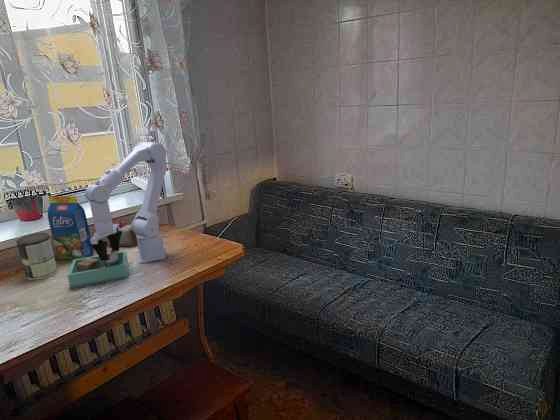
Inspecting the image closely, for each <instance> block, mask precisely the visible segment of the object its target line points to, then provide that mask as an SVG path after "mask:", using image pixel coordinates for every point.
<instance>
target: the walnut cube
mask: <svg viewBox="0 0 560 420" xmlns="http://www.w3.org/2000/svg"><path fill="white" fill-rule="evenodd" d="M77 268H78V272H83V271H88V270H94V269H99V268H100V263H99V259H91V258H87V259H85V260H83V261H81V262H79V263H77Z"/></svg>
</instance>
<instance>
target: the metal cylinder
mask: <svg viewBox="0 0 560 420" xmlns="http://www.w3.org/2000/svg"><path fill="white" fill-rule="evenodd" d="M118 252H119V251H118ZM118 252H117V250H115V249H112V248H111V249H107V260H106V261H104V266H105V267H110V266H115V265H120V262H119V257H118Z"/></svg>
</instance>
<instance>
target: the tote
mask: <svg viewBox="0 0 560 420" xmlns="http://www.w3.org/2000/svg"><path fill="white" fill-rule="evenodd" d="M118 257H119V262H120V265H115V266H110V267H105V266H104V261H101V260H100V258H99V256H98V255H92V256H90V257H87V258H91V259H99V263H100V268H99V269H94V270H88V271H83V272H78V268H77V263H79V262H81V261H83V260H85V259H87V258H81V259H75V260H72V262H71V265H70V268H69V270H68V274H67V278H68V282H69V288H70V289H71V290H73V289H79V288H83V287H89V286H94V285H99V284H104V283H109V282H110V283H111V282H115V281H121V280H125V279H128V278H129V259H128V253H127V250H122V251H118Z"/></svg>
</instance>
